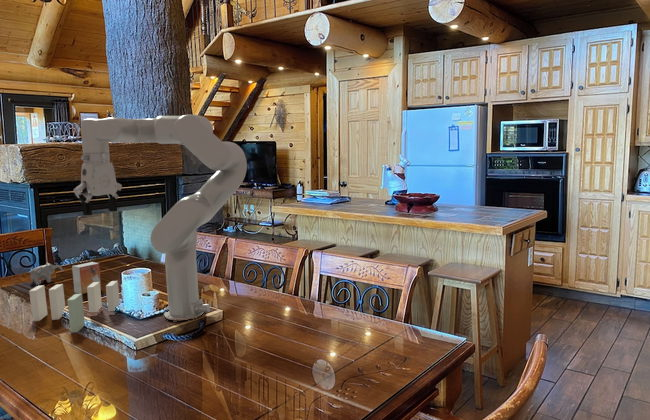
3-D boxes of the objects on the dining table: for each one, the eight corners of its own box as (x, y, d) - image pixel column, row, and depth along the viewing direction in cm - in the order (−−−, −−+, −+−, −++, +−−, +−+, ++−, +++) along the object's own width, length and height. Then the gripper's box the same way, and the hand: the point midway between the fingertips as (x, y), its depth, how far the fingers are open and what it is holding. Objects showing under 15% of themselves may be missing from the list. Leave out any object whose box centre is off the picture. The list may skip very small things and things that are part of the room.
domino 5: (120, 309, 165) (117, 280, 164) (114, 315, 159) (112, 285, 158) (114, 309, 165) (111, 281, 164) (108, 316, 159) (105, 286, 158)
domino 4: (102, 310, 165) (99, 281, 163) (96, 316, 159) (93, 286, 157) (96, 311, 164) (93, 282, 163) (89, 317, 159) (86, 287, 157)
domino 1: (47, 314, 163) (44, 285, 161) (39, 320, 157) (35, 290, 155) (41, 314, 162) (37, 285, 161) (32, 321, 157) (29, 290, 155)
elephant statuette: (26, 285, 202) (23, 267, 200) (53, 276, 212) (50, 259, 211) (40, 287, 198) (37, 269, 196) (67, 278, 208) (64, 260, 207)
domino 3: (85, 324, 152) (81, 293, 150) (77, 332, 146) (74, 299, 145) (78, 325, 152) (75, 293, 150) (70, 332, 146) (67, 300, 144)
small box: (81, 294, 184) (78, 267, 183) (74, 292, 187) (71, 265, 186) (101, 289, 190) (99, 263, 189) (94, 287, 194) (92, 261, 192)
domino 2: (66, 313, 163) (62, 284, 162) (58, 319, 157) (55, 289, 156) (59, 313, 163) (56, 284, 162) (51, 319, 157) (48, 289, 156)
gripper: (81, 159, 144) (85, 217, 147) (127, 158, 160) (130, 210, 162) (63, 159, 147) (68, 216, 150) (110, 158, 163) (114, 209, 165)
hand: (100, 213), depth 156 cm, fingers open, 9 cm apart
